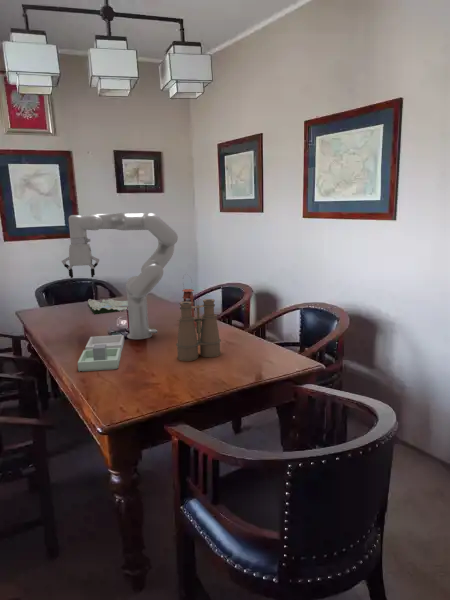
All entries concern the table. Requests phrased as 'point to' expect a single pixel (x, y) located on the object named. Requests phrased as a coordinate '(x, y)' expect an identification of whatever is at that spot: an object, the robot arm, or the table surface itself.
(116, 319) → the table surface
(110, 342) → the bin
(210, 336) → the binoculars
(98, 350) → the stone block
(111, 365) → the bin
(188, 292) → the lantern
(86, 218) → the robot arm
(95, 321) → the table surface
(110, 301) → the topographic map model
